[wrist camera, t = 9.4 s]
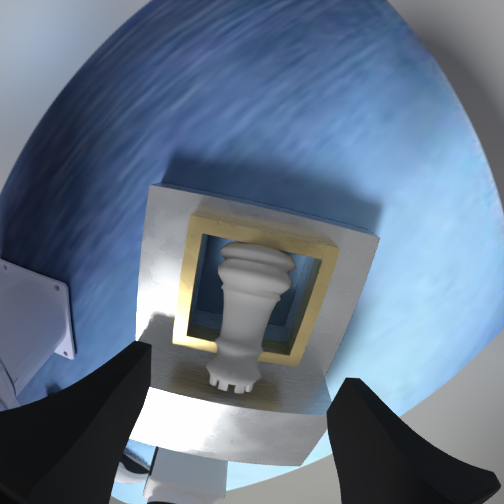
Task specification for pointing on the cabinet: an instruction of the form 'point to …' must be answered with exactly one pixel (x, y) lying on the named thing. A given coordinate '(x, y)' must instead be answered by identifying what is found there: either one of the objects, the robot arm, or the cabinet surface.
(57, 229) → the cabinet surface
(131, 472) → the computer mouse
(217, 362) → the rook chess piece
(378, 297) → the cabinet surface
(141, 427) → the white stepped block
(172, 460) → the medicine bottle
